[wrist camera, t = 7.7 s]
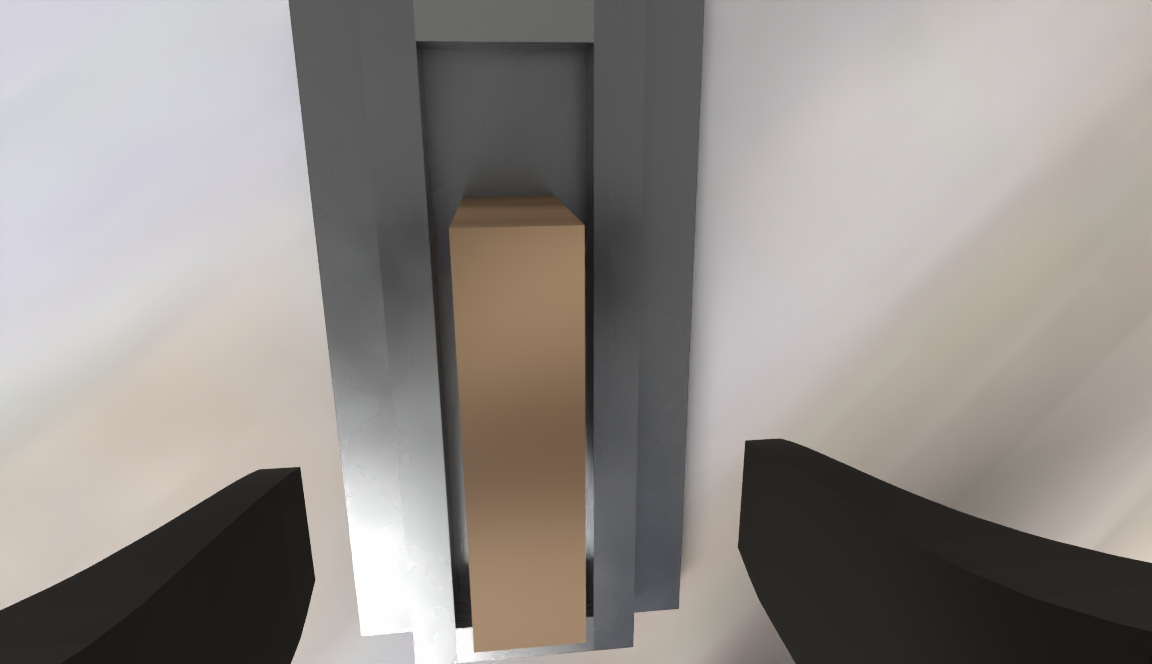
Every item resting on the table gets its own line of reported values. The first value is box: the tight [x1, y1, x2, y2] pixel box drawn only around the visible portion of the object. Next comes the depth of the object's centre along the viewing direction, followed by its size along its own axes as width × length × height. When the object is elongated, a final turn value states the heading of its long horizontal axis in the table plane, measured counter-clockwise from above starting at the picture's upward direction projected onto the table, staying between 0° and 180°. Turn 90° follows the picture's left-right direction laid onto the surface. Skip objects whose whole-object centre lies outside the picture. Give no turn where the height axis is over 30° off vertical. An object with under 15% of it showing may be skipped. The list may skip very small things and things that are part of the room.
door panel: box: [449, 196, 586, 653], centre depth 16 cm, size 9×2×6 cm, turn 1°
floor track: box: [289, 0, 704, 664], centre depth 19 cm, size 18×10×2 cm, turn 0°
